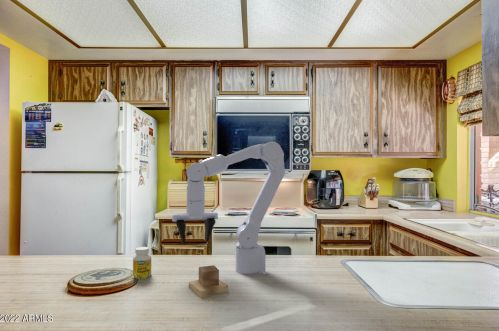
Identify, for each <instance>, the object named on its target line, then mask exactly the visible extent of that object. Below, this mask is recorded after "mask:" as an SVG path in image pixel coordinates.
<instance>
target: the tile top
mask: <svg viewBox="0 0 499 331" xmlns="http://www.w3.org/2000/svg"><path fill="white" fill-rule="evenodd" d="M188 289H189V290H191V291H192V292H193V293H194V294H195V295H197V296H198V297H199V298H201V299H202V298H206V297H207V298H208V297H210V296H214V295H218V294H224V293H226V292H228V291H229V285H228V284H226V283H225V282H223V281H222V280H221V279H219V285H214V286H208V287H202V286H201V284H200V283H199V279H196V280H195V279H194V280H191V281H188Z"/></svg>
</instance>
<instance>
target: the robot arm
mask: <svg viewBox="0 0 499 331" xmlns="http://www.w3.org/2000/svg"><path fill="white" fill-rule="evenodd" d="M284 156H285V153H284V151H283V148H282V147H281V145H280V143H278V142H276V141H269V142H266V143H260V144H254V145H251V146H249V147H246V148H243V149H240V150H238V151H235V152H233V153H231V154H228V155H226V156H225V155H223V154H217V153H214V154H213V155H212V156H211V157H209V158H206V159H204V160H203V159H199V160H198V162H193V163H191V164H190V165H189V166H187V168H186V177H187V181H186V183H187V186H186V213H179V214H172V215H171V221H172V222H174V223H175V225H176V226H177V229H178V231H179V234H180V239H181V240H180V241H181V244H182V245H186V222H185V221H187V222H188V221H200V220H203V221H204V241H205V242H206V243H209V242H210V241H209V240H210V237H211V234H212V231H213V228H214V226H215V225H216V220H218V219H219V213H218V212H205V206H206V205H205V199H206V198H205V197H206V196H205V193H206V187H205V179H204V178H205V177H206V178H209V177H212V176H215V175H218V174H221V173H224V172H226V171H227V169H228V168H229V166H230V165H233V164H236V163H240V162H242V161H244V160H248V159H251V158H252V159H256V160H258V159H261V161H262V162H263V163H264V164H265V167H266V169H267V172H268V174H267V176H266V179H265V180H264V182H263V185H262V187H261V189H260V191H259V193H258V195H257V197H256V199H255V201H254V203H253V205H252V207H251V209H250V211H249V213H248V215H247V216H246V217H245V219H244V221H243V222H242V223H241V224H240V225H239V226H238V227H237V229H236V237H237V240H238V241H237V243H236V244H235V272H236V273H238V274H241V275H252V274H257V273H260V274H261V275H263V276H265V275H267V272H266V249H265V247H264V246H263V245H262V244H258V241H259V232H260V231H261V226H262V222H263V220H264V217H265V216H266V214H267V211H268V209H269V207H270V205H271V203H272V202H273V200H274V197H275V196H276V193H277V191H278V189H279V186H280V185H281V183H282V181H283V178H284V177H285V174H286V170H285V169H286V168H285V159H284V158H285V157H284Z"/></svg>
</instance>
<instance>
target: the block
mask: <svg viewBox="0 0 499 331" xmlns="http://www.w3.org/2000/svg"><path fill="white" fill-rule="evenodd" d="M198 280H199V283H200V284H201V286H202V287H208V286H214V285H219V280H220V270H219V269H218V267H217V266H216V265H214V264H212V265H207V266H198Z"/></svg>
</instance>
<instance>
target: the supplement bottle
mask: <svg viewBox="0 0 499 331" xmlns="http://www.w3.org/2000/svg"><path fill="white" fill-rule="evenodd" d="M134 252H135V254H134V256H133V257H132V277H133V276H134V277H135V278H136V279H135V280H145V279H149V278H150V277H151V276H152V255H151V254H150V247H149V246H139V247H136V248H135V251H134Z"/></svg>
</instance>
